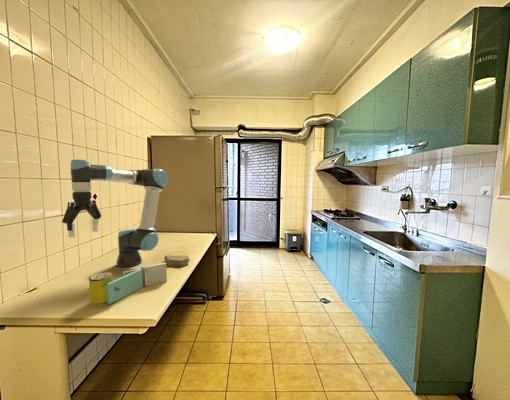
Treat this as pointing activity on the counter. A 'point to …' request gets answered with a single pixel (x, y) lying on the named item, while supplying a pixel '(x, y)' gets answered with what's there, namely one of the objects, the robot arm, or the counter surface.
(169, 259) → the stone
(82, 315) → the counter surface
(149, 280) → the wall
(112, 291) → the door
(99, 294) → the beverage can
